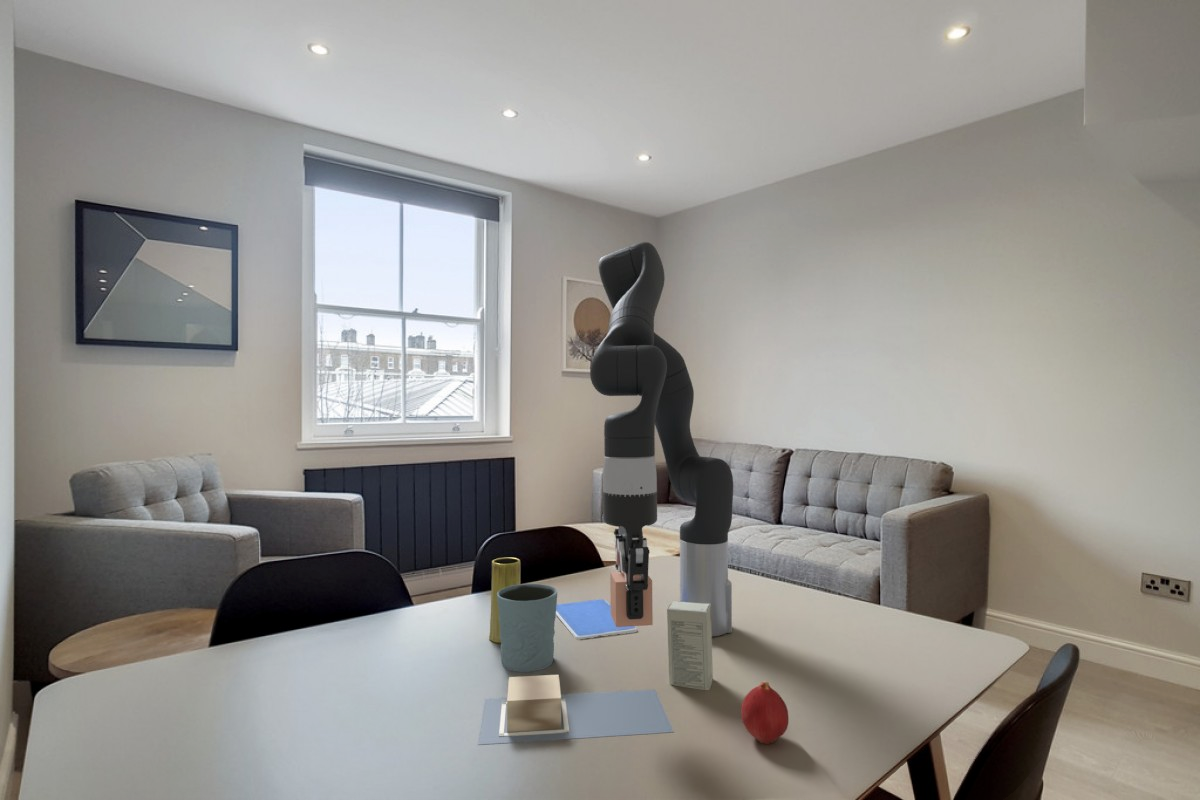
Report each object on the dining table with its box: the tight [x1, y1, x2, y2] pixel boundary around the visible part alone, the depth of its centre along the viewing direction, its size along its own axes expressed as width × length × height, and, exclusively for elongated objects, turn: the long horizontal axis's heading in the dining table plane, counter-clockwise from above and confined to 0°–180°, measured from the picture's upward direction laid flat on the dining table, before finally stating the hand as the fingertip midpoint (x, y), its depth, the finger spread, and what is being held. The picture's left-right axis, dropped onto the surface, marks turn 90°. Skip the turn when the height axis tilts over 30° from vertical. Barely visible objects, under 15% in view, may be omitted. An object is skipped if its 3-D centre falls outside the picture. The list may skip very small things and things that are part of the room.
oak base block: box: [506, 674, 562, 732], centre depth 81 cm, size 7×7×4 cm
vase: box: [488, 556, 521, 644], centre depth 112 cm, size 6×6×14 cm
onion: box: [740, 680, 790, 745], centre depth 76 cm, size 6×6×8 cm
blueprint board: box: [477, 688, 675, 746], centre depth 82 cm, size 25×12×1 cm, turn 97°
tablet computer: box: [556, 598, 639, 640], centre depth 121 cm, size 19×13×1 cm, turn 20°
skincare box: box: [666, 600, 714, 691], centre depth 92 cm, size 6×4×12 cm
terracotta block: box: [609, 571, 654, 627], centre depth 83 cm, size 5×5×6 cm
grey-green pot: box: [497, 583, 558, 673], centre depth 100 cm, size 10×10×12 cm
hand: (631, 610), depth 83 cm, fingers closed on terracotta block, 5 cm apart
